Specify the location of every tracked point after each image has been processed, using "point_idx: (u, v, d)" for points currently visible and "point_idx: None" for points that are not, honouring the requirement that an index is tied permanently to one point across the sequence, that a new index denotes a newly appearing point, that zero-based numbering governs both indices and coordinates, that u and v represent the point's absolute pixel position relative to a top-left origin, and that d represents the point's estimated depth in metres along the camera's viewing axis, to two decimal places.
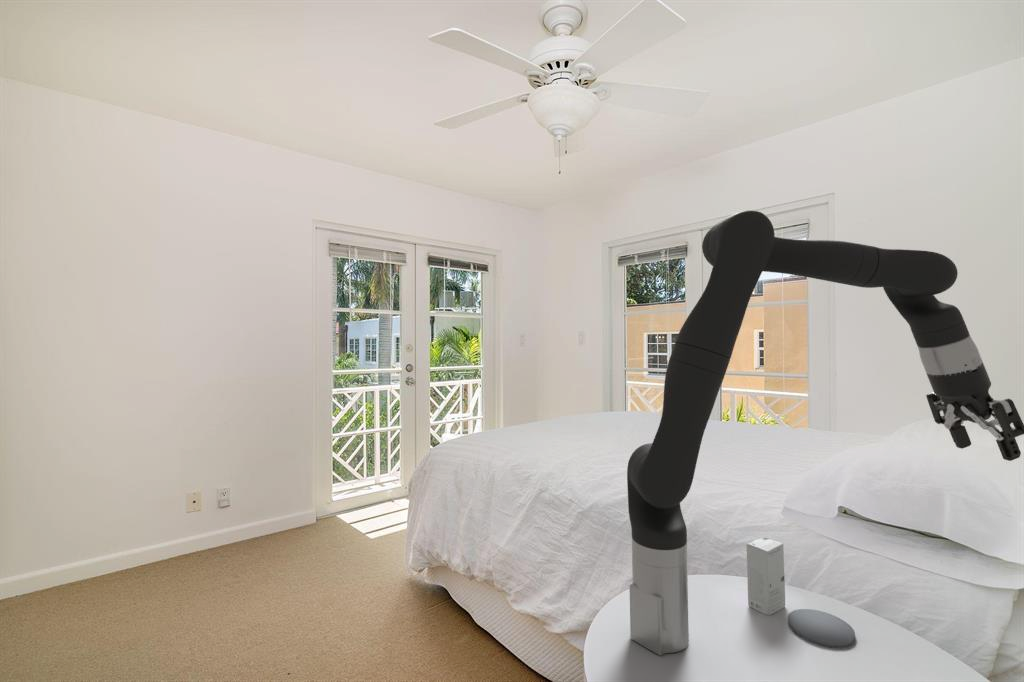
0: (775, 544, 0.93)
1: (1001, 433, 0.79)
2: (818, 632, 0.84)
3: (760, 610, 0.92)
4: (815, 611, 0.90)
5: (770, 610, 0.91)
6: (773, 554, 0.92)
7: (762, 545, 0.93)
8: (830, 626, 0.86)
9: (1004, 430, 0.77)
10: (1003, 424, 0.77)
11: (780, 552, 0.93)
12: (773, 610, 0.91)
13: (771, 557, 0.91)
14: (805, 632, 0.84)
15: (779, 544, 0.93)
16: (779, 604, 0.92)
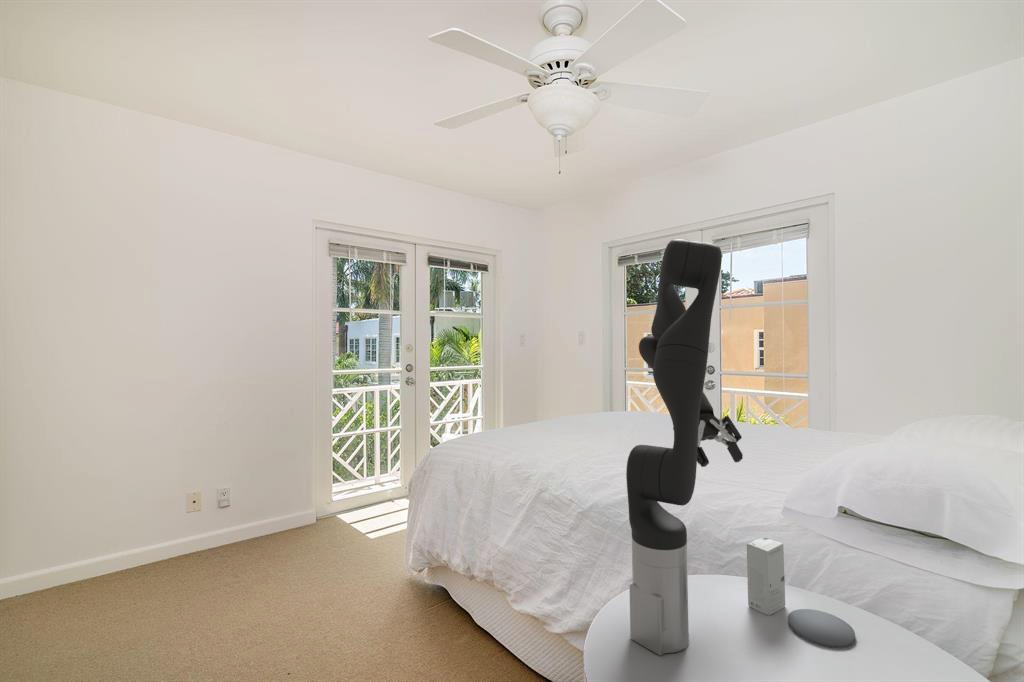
0: (775, 544, 0.93)
1: None
2: (818, 632, 0.84)
3: (760, 610, 0.92)
4: (815, 611, 0.90)
5: (770, 610, 0.91)
6: (773, 554, 0.92)
7: (762, 545, 0.93)
8: (830, 626, 0.86)
9: (736, 433, 1.09)
10: (734, 428, 1.09)
11: (781, 552, 0.93)
12: (773, 610, 0.91)
13: (771, 557, 0.91)
14: (805, 632, 0.84)
15: (779, 544, 0.93)
16: (779, 604, 0.92)
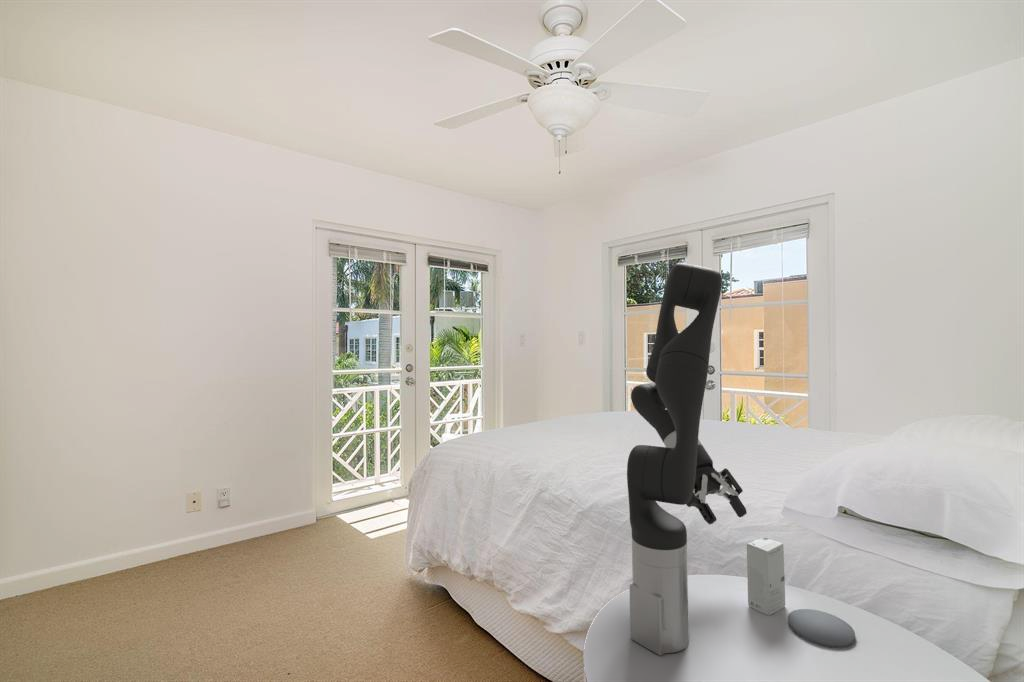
0: (775, 544, 0.93)
1: None
2: (818, 632, 0.84)
3: (760, 610, 0.92)
4: (815, 611, 0.90)
5: (770, 610, 0.91)
6: (773, 554, 0.92)
7: (762, 545, 0.93)
8: (830, 626, 0.86)
9: (736, 486, 1.07)
10: (734, 481, 1.08)
11: (781, 552, 0.93)
12: (773, 610, 0.91)
13: (771, 557, 0.91)
14: (805, 632, 0.84)
15: (779, 544, 0.93)
16: (779, 604, 0.92)
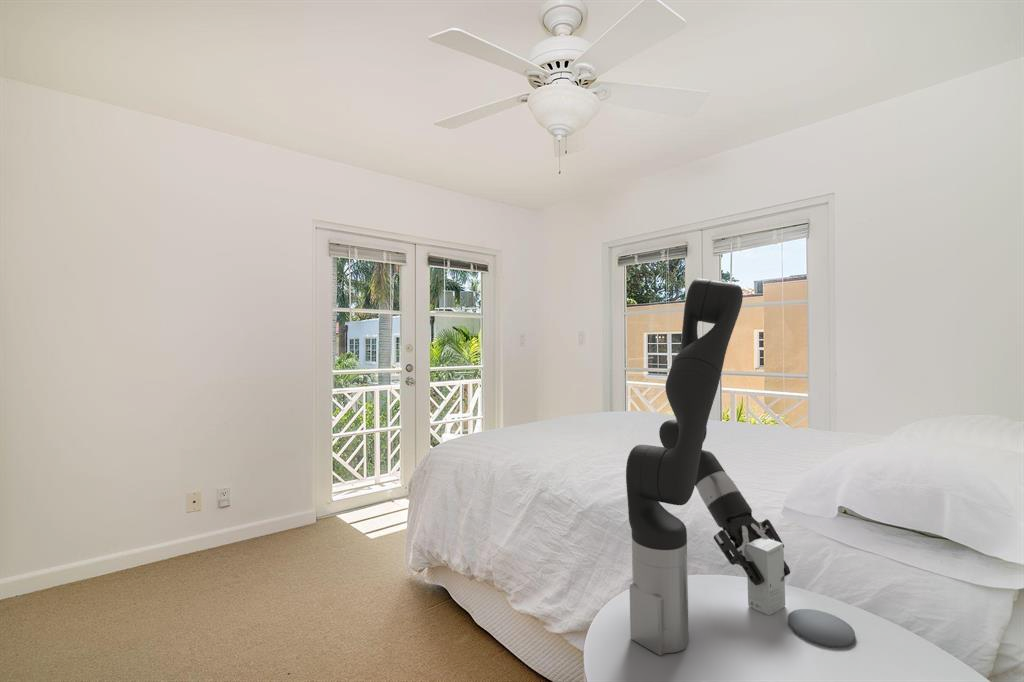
0: (775, 544, 0.93)
1: None
2: (818, 632, 0.84)
3: (760, 610, 0.92)
4: (815, 611, 0.90)
5: (770, 610, 0.91)
6: (773, 554, 0.92)
7: (762, 545, 0.93)
8: (830, 626, 0.86)
9: (778, 540, 0.97)
10: (776, 535, 0.98)
11: (780, 552, 0.93)
12: (773, 610, 0.91)
13: (771, 557, 0.91)
14: (805, 632, 0.84)
15: (779, 544, 0.93)
16: (779, 604, 0.92)
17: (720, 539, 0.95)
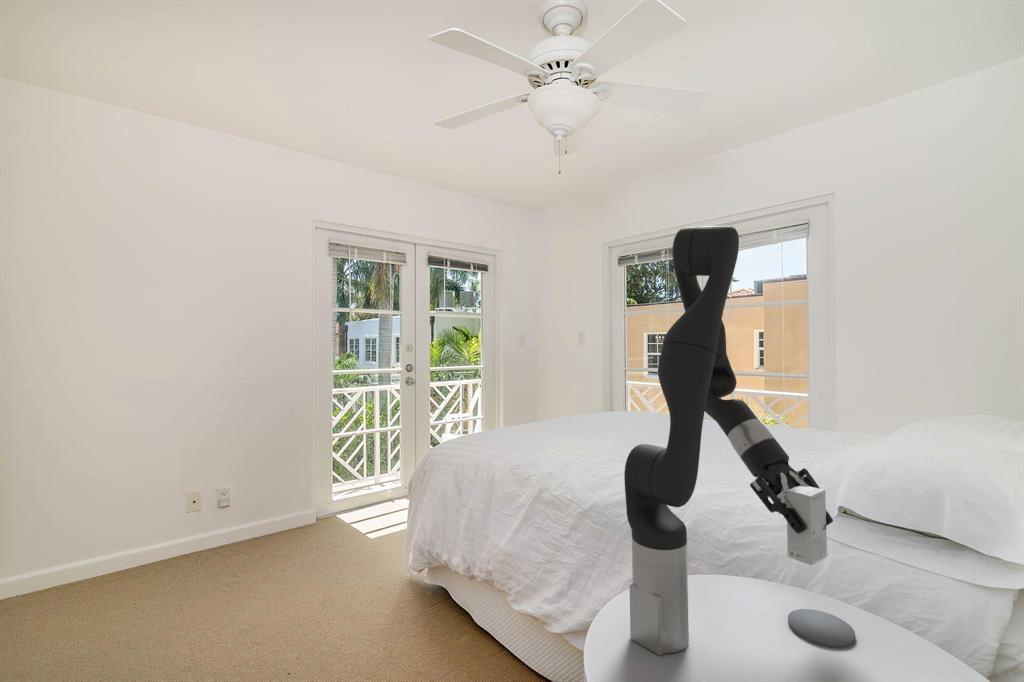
0: (817, 490, 0.87)
1: None
2: (818, 632, 0.84)
3: (802, 560, 0.86)
4: (815, 611, 0.90)
5: (813, 559, 0.85)
6: (815, 500, 0.86)
7: (803, 491, 0.87)
8: (830, 626, 0.86)
9: None
10: (815, 484, 0.92)
11: (823, 499, 0.87)
12: (815, 559, 0.85)
13: (814, 503, 0.85)
14: (805, 632, 0.84)
15: (821, 490, 0.87)
16: (821, 554, 0.86)
17: (758, 486, 0.89)
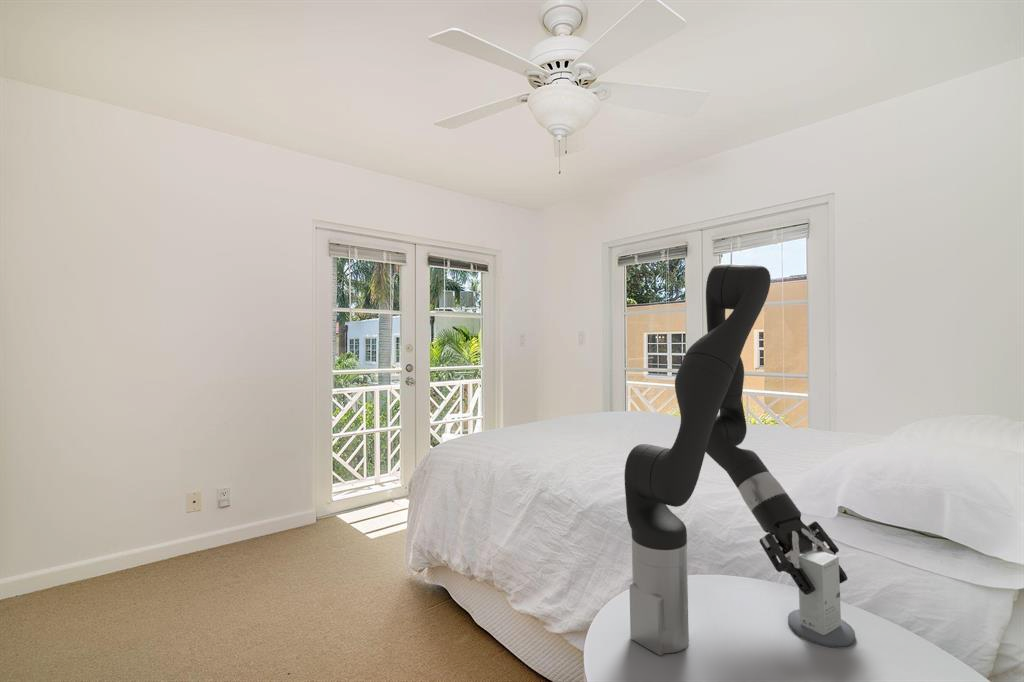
0: (830, 557, 0.86)
1: None
2: None
3: (814, 629, 0.84)
4: None
5: (825, 629, 0.83)
6: (828, 569, 0.84)
7: (816, 558, 0.85)
8: None
9: (831, 544, 0.90)
10: (828, 538, 0.91)
11: (836, 566, 0.86)
12: (828, 629, 0.84)
13: (826, 572, 0.84)
14: (805, 632, 0.84)
15: (834, 557, 0.86)
16: (835, 623, 0.85)
17: (767, 543, 0.88)
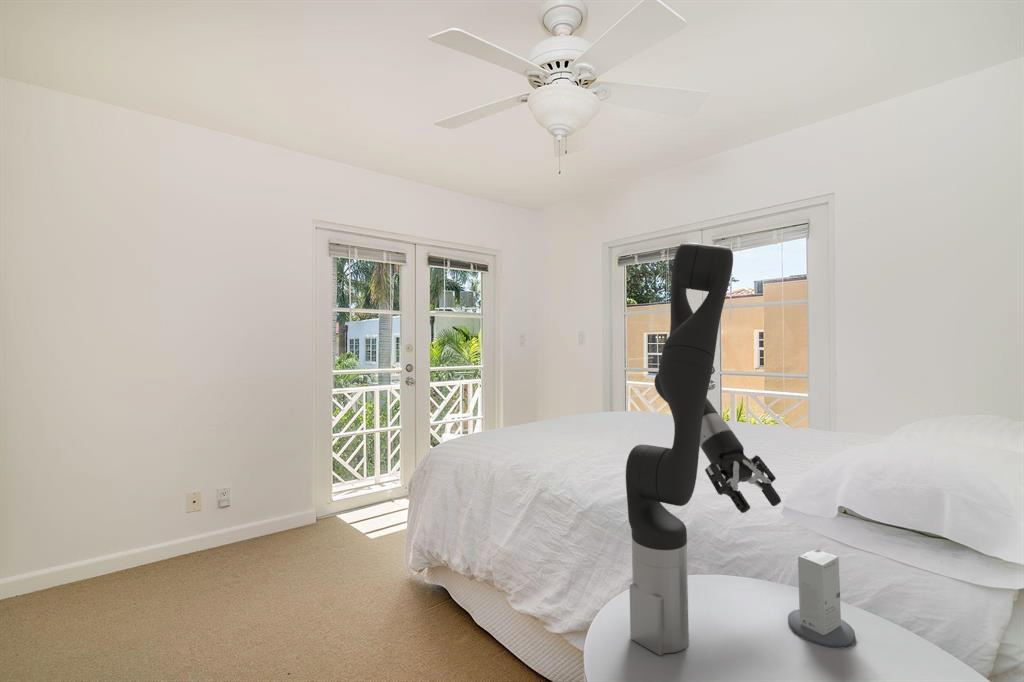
0: (830, 557, 0.86)
1: None
2: None
3: (814, 629, 0.84)
4: None
5: (825, 629, 0.83)
6: (828, 569, 0.84)
7: (816, 558, 0.85)
8: None
9: (769, 473, 1.02)
10: (766, 469, 1.03)
11: (836, 566, 0.86)
12: (828, 629, 0.84)
13: (826, 572, 0.84)
14: (805, 632, 0.84)
15: (834, 557, 0.86)
16: (835, 623, 0.85)
17: (710, 470, 0.99)
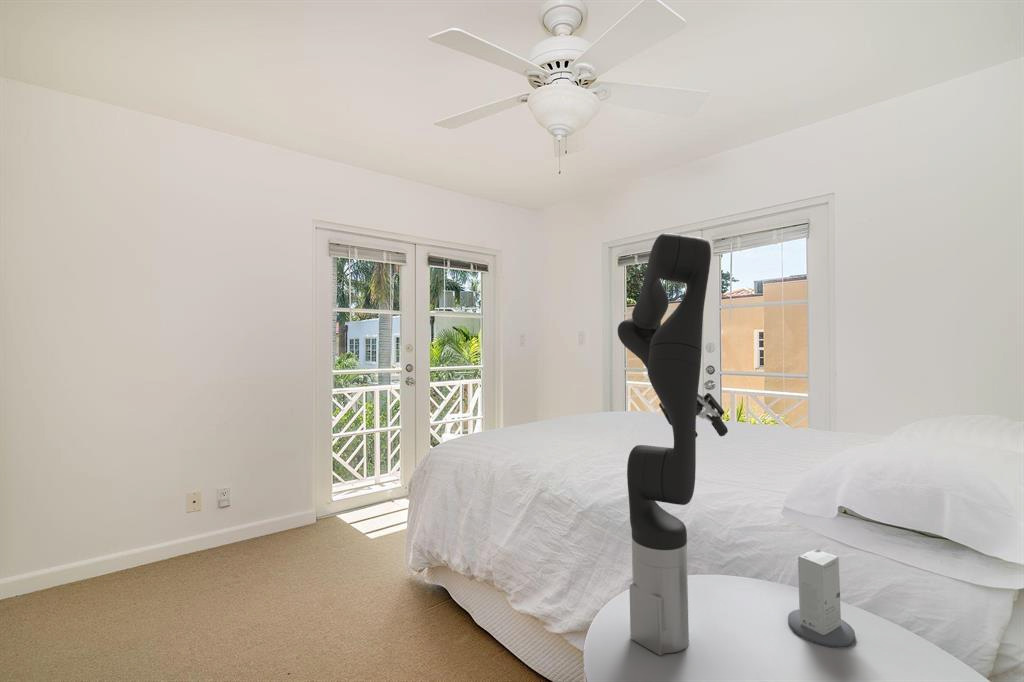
0: (830, 557, 0.86)
1: None
2: None
3: (814, 629, 0.84)
4: None
5: (825, 629, 0.83)
6: (828, 569, 0.84)
7: (816, 558, 0.85)
8: None
9: (719, 408, 1.10)
10: (717, 404, 1.11)
11: (836, 566, 0.86)
12: (828, 629, 0.84)
13: (826, 572, 0.84)
14: (805, 632, 0.84)
15: (834, 557, 0.86)
16: (835, 623, 0.85)
17: None
